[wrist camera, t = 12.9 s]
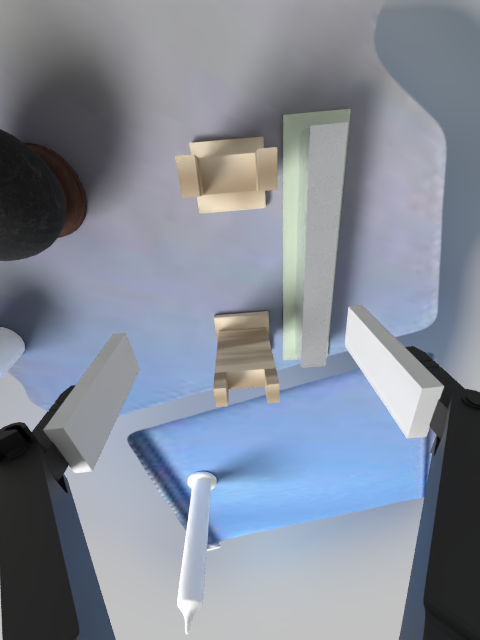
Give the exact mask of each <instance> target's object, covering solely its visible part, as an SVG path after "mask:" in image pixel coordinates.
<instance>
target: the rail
mask: <svg viewBox="0 0 480 640" xmlns="http://www.w3.org/2000/svg"><path fill="white" fill-rule="evenodd" d="M347 130H348V122H346V123H335V124H324V125H313V126H309V127H308V128H307V129H305V130H304V131H302V132H301V133H300V134H299V175H298V219H297V262H296V305H295V349H294V350H295V353H296V356H297V358H298V361H299V364H300V367H301V368H304V367H317V366H325V365H326V356H327V346H328V335H329V324H330V313H331V303H332V292H333V281H334V270H335V259H336V249H337V238H338V227H339V216H340V206H341V195H342V184H343V173H344V163H345V152H346V141H347Z"/></svg>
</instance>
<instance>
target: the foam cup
mask: <svg viewBox="0 0 480 640" xmlns="http://www.w3.org/2000/svg"><path fill="white" fill-rule="evenodd" d="M24 351H25V343H24V342H23V340H22V338H21V337H20V336H19V335H18V334H16V333H15V332H14V331H12V330H9V329H7V328H4V327H0V379H1V378H2V377H3V376H4V374H5V373H6V372H7V371H8V370H9V369H10V368H11V367H12V366H13V365H14V363H15V362H16V361H17V360H18V359H19V358H20V356H21V355H22V354H23V353H24Z"/></svg>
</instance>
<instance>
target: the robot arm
mask: <svg viewBox="0 0 480 640" xmlns="http://www.w3.org/2000/svg"><path fill="white" fill-rule="evenodd" d="M345 347H346V348H347V350H348V351H349V353H350V354H351V356H352V357H353V358H354V360H355V361H356V363H357V364H358V366H359V367H360V369H361V370H362V372H363V373H364V375H365V376H366V378H367V379H368V381H369V382H370V384H371V385H372V387H373V388H374V390H375V391H376V393H377V394H378V396H379V397H380V399H381V400H382V402H383V403H384V405H385V406H386V408H387V409H388V411H389V412H390V414H391V415H392V417H393V418H394V420H395V421H396V423H397V424H398V426H399V427H400V428H401V430H402V431H403V433H404V434H405V436H406V437H407V439H408V438H418V437H426V436H427V433H428V431H429V428H430V427H431V428H432V430H433V431H434V432H435V433H436V435H437V436H436V438H435V441H434V443H433V446H432V449H431V451H430V452H431V453H432V458H431V464H430V470H429V475H428V481H427V486H426V492H425V498H424V504H423V509H422V515H421V520H420V526H419V532H418V537H417V543H416V548H415V554H414V559H413V565H412V571H411V576H410V582H409V587H408V593H407V599H406V604H405V610H404V616H403V621H402V627H401V632H400V637H399V640H480V392H477V391H474V390H469V389H464V388H463V387H462V386H461V385H460V384H459V383H458V382H457V381H455V380H454V379H453V378H452V377H451V376H450V375H449V374H448V373H447V372H446V371H445V370H443V368H441V367H439V365H438V364H437V363H436V362H435V361H433V359H432V358H430V357H429V356H428V355H427V354H426V353H425V352H423V351H421V350H419V349H418V348H416V347H413V346H411V347H404V346H403V345H402V344H401V343H400V342H399V341H398V340H397V339H396V338H395V337H394V336H393V335H392V334H391V333H390V332H389V331H388V330H387V329H386V328H385V327H384V326H383V325H382V324H381V323H380V322H379V321H378V320H377V319H376V318H375V317H374V316H373V315H372V314H371V313H370V312H369V311H368V310H367V309H366V308H365V307H364V306H363V305H356V306H349V307H348V317H347V328H346V338H345ZM139 370H140V368H139V365H138V363H137V360H136V358H135V355H134V353H133V350H132V347H131V345H130V342H129V340H128V337H127V335H126V333H121V334H113V335H112V337H111V338H110V339H109V341H108V342H107V343H106V345H105V346H104V348H103V349H102V350H101V352H100V353H99V354H98V356H97V357H96V358H95V360H94V361H93V363H92V364H91V365H90V367H89V368H88V369H87V371H86V372H85V374H84V375H83V376H82V378H81V379H80V380H79V382H78V383H77V384H76V385H74V386H70V387H69V388H68V389H67V390H65V391H64V392H63V393H62V394H61V395H60V396H59V397H58V399H57V400H56V401H55V404H53V405H52V407H51V408H50V409H49V412H47V413H46V414H45V416H44V417H43V418H42V420H41V421H40V422H39V424H38V425H37V426H36V427H35V429H34V430H33V432H31V431H30V430H29V428H28V427H27V426H26V424H25V423H21V422H18V423H13V424H10V425H8V426H5V427H3V428H2V429H0V585H1V609H2V635H3V640H115V636H114V633H113V629H112V626H111V623H110V619H109V616H108V613H107V609H106V606H105V603H104V600H103V596H102V593H101V590H100V586H99V583H98V580H97V576H96V573H95V570H94V566H93V563H92V560H91V556H90V553H89V550H88V547H87V543H86V540H85V536H84V533H83V530H82V527H81V524H80V520H79V517H78V513H77V510H76V507H75V503H74V500H73V497H72V493H71V491H70V487H69V483H68V480H67V478H66V477H65V475H64V472H65V470H66V469H67V467H68V465H69V466H70V467H71V469H72V470H73V471H74V473H81V472H91V471H93V469H94V467H95V465H96V463H97V460H98V458H99V456H100V454H101V452H102V450H103V447H104V445H105V443H106V441H107V439H108V437H109V435H110V432H111V430H112V428H113V426H114V423H115V422H116V419H117V417H118V415H119V413H120V411H121V409H122V407H123V404H124V402H125V400H126V398H127V396H128V394H129V391H130V389H131V387H132V385H133V383H134V381H135V378H136V376H137V374H138V372H139Z"/></svg>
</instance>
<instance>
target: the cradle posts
mask: <svg viewBox="0 0 480 640" xmlns="http://www.w3.org/2000/svg"><path fill="white" fill-rule="evenodd" d="M190 150H191V155H181V156H175V158H176V164H177V170H178V176H179V182H180V188H181V194H182V198H189V197H197V200H198V207H199V214H200V213H211V212H223V211H235V210H246V209H258V208H266V205H265V191H270V190H278V180H277V147H271V148H264V137H263V136H261V137H250V138H239V139H228V140H217V141H205V142H194V143H190ZM214 322H215V329H216V336H217V355H216V366H215V377H214V388H213V390H214V396H215V402H216V407H223V406H228V389H239V388H254V387H265V389H266V396H267V402H268V403H275V402H280V392H279V380H278V376H277V371H276V367H275V363H274V359H273V354H272V350H271V346H270V341H269V313H268V311H262V312H249V313H237V314H225V315H214Z"/></svg>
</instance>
